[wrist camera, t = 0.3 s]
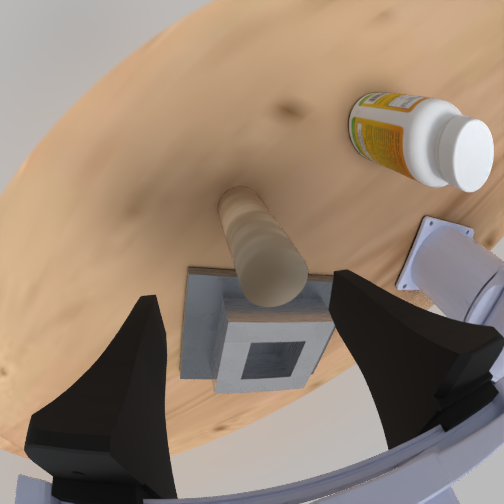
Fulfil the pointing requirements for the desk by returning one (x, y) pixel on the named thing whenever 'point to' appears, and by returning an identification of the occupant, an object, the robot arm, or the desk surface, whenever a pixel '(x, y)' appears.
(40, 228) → the desk surface
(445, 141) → the supplement bottle
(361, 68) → the desk surface
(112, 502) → the robot arm
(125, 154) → the desk surface
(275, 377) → the socket
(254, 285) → the peg
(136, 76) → the desk surface
